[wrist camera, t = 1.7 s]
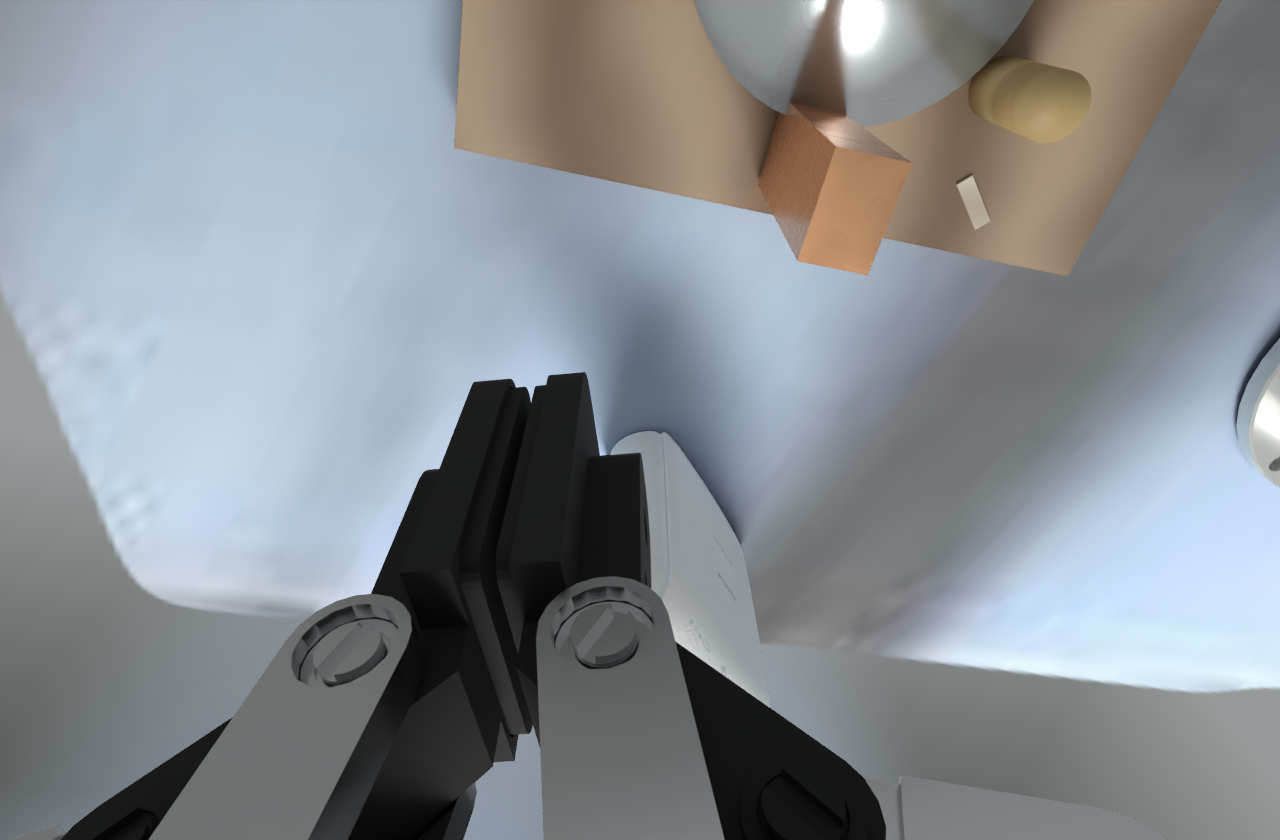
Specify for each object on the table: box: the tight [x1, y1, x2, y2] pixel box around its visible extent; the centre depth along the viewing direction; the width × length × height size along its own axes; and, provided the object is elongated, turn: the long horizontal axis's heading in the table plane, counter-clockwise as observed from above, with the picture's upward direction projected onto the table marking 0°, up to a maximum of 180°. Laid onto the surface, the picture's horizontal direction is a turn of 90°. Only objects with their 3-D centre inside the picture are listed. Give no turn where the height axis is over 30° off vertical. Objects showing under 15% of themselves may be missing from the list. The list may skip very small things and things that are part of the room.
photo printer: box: [610, 431, 770, 708], centre depth 32 cm, size 10×4×12 cm, turn 28°
